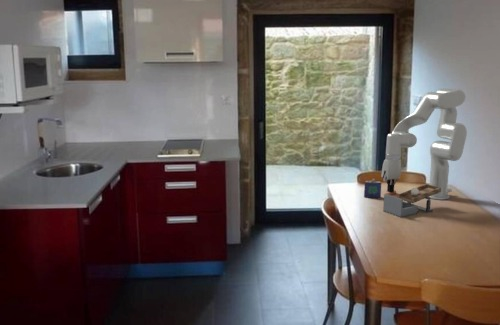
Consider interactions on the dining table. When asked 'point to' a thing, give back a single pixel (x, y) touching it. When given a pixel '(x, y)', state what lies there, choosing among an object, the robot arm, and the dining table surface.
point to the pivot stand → (423, 207)
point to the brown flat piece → (424, 193)
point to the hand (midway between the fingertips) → (390, 191)
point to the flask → (372, 189)
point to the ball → (414, 191)
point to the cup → (398, 206)
